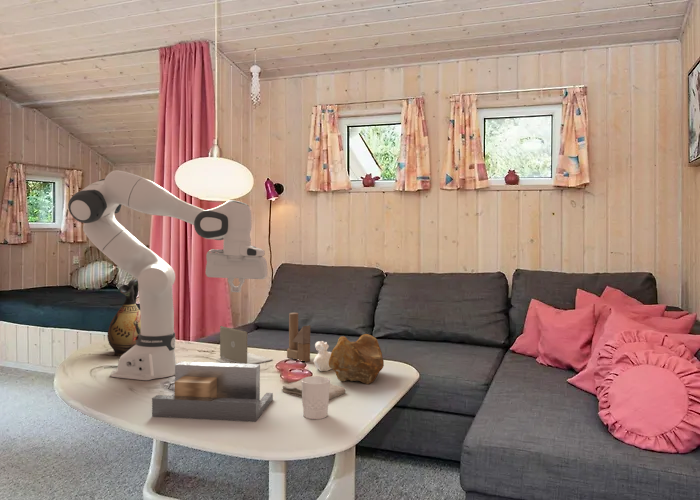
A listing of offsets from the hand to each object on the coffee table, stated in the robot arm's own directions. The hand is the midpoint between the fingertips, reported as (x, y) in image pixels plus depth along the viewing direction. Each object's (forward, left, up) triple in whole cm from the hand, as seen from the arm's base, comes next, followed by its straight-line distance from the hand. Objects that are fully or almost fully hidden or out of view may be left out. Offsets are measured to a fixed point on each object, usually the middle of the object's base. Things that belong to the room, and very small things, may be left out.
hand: (236, 292), depth 181 cm
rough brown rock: (+41, +12, -31) cm, 53 cm away
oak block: (-3, -27, -31) cm, 41 cm away
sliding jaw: (+2, -22, -31) cm, 38 cm away
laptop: (-6, +34, -31) cm, 46 cm away
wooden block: (+14, +37, -31) cm, 50 cm away
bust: (+26, +24, -31) cm, 47 cm away
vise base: (+2, -24, -31) cm, 39 cm away
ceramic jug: (-56, +37, -31) cm, 74 cm away
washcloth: (+27, -6, -31) cm, 42 cm away
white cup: (+31, -26, -31) cm, 51 cm away
